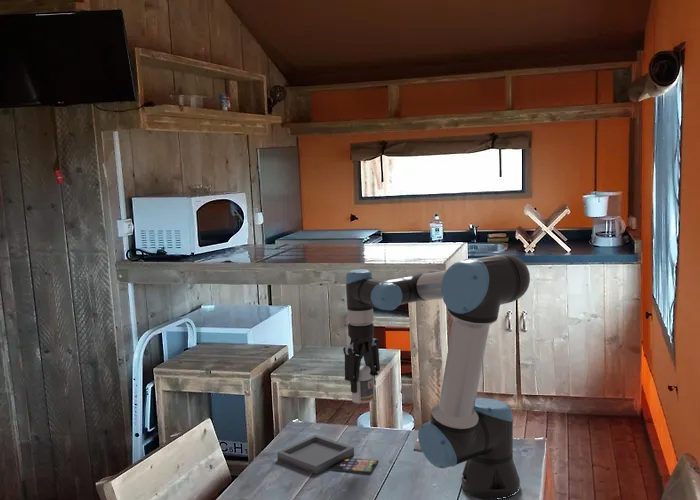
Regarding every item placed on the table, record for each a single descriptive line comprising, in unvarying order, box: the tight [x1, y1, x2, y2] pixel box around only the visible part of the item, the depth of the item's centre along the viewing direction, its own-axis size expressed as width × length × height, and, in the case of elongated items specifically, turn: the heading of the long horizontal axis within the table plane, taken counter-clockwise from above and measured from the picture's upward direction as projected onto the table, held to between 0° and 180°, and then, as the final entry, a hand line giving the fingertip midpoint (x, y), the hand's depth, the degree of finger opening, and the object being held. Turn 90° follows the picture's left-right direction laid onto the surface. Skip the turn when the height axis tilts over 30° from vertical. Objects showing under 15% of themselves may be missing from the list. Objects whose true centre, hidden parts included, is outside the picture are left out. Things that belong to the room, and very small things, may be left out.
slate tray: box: [276, 434, 355, 475], centre depth 206 cm, size 16×16×2 cm
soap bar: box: [413, 438, 422, 451], centre depth 212 cm, size 5×9×3 cm, turn 160°
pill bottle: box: [358, 365, 374, 404], centre depth 204 cm, size 6×6×10 cm
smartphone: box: [325, 457, 379, 475], centre depth 199 cm, size 8×15×1 cm, turn 73°
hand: (363, 399), depth 205 cm, fingers closed on pill bottle, 6 cm apart
